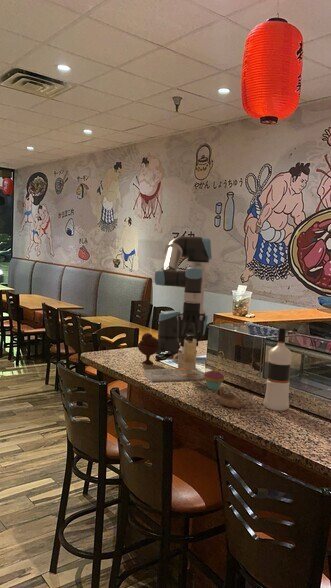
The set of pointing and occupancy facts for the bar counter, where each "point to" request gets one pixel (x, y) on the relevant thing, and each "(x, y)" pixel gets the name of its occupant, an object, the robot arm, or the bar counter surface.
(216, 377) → the cupcake
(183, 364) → the teacup with lid
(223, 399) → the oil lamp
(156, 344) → the ice cream bowl
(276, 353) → the vodka
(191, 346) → the beige upright block
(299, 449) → the bar counter surface
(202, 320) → the robot arm
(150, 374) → the grey flat slab
